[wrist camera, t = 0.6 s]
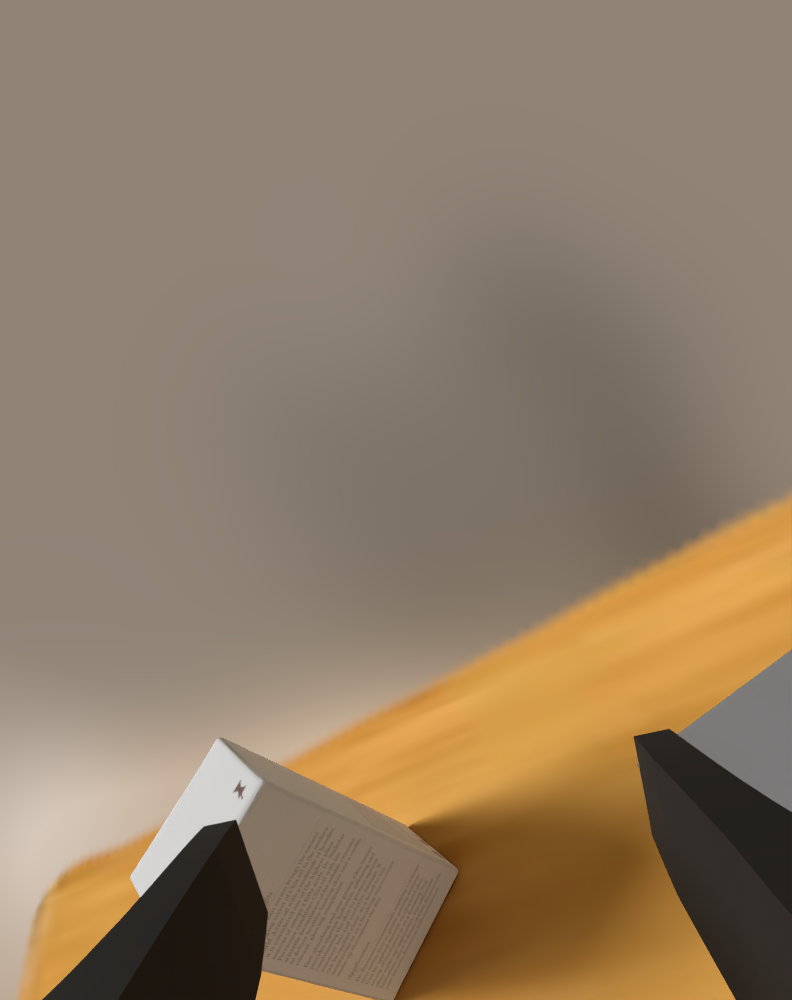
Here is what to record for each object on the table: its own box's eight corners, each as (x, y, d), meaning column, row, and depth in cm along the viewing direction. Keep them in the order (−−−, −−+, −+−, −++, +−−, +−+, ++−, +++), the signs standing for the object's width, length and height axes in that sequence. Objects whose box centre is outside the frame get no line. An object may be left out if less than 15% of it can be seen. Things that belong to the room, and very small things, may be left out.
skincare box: (405, 822, 33) (219, 729, 27) (463, 871, 30) (267, 777, 23) (338, 944, 32) (123, 877, 25) (391, 1010, 28) (159, 952, 22)
